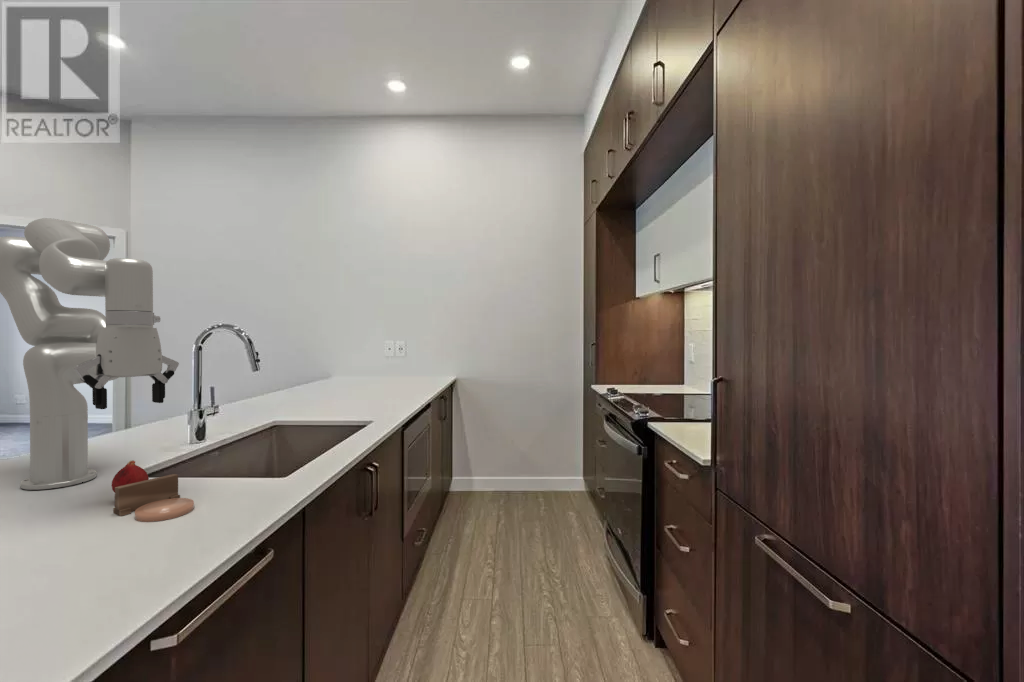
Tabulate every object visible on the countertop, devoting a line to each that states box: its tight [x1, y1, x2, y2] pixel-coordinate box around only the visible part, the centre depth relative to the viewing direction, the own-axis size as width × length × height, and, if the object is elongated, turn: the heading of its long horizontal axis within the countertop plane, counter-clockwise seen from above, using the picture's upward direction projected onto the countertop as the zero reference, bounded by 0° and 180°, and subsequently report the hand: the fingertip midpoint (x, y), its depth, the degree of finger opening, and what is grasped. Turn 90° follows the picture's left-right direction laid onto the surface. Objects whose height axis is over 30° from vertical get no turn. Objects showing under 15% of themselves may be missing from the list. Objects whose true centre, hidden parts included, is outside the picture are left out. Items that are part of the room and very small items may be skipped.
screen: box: [112, 473, 181, 517], centre depth 93 cm, size 3×10×5 cm, turn 151°
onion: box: [111, 460, 150, 494], centre depth 96 cm, size 6×6×8 cm
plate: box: [134, 497, 195, 523], centre depth 90 cm, size 9×9×1 cm
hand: (130, 405), depth 96 cm, fingers open, 9 cm apart
